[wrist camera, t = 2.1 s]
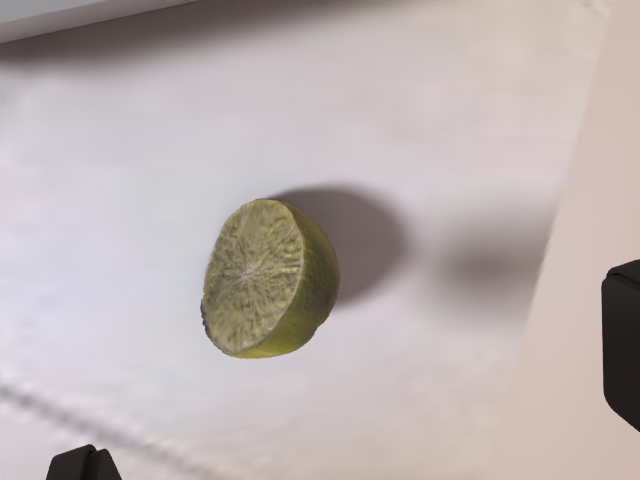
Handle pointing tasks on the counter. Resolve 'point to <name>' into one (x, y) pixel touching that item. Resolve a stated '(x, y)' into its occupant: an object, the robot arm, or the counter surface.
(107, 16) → the low wall
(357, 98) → the counter surface
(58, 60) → the counter surface
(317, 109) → the counter surface
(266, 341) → the lime
